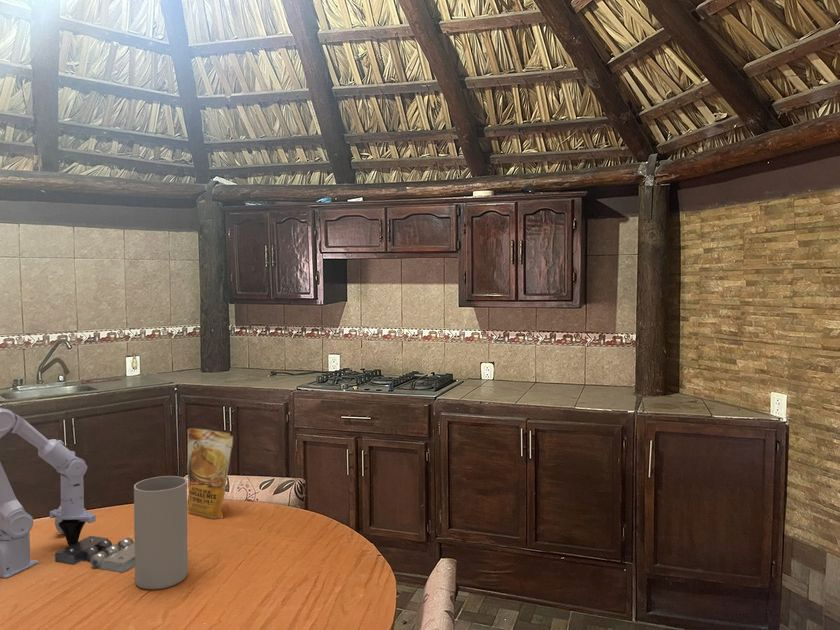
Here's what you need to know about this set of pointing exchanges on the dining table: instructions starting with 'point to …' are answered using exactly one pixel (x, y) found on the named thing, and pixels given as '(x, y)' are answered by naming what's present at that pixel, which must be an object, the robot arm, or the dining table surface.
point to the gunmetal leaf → (82, 550)
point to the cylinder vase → (160, 532)
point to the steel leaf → (116, 557)
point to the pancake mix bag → (207, 470)
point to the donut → (57, 521)
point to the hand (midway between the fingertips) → (73, 544)
